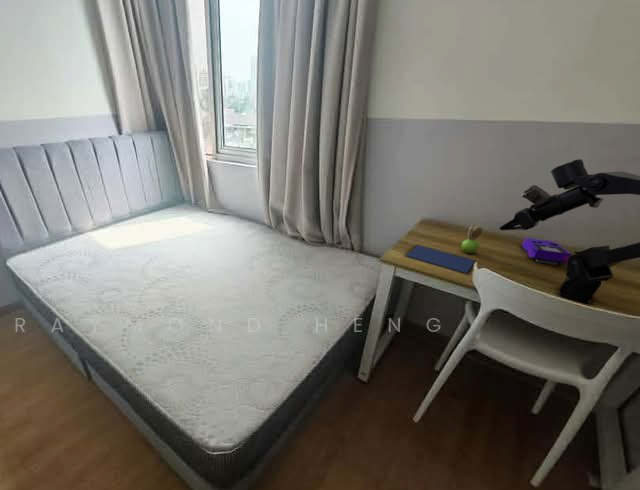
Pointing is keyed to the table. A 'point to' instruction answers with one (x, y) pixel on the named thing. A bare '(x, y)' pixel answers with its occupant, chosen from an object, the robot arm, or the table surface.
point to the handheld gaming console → (545, 251)
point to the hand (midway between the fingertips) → (506, 225)
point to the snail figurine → (471, 240)
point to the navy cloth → (441, 259)
